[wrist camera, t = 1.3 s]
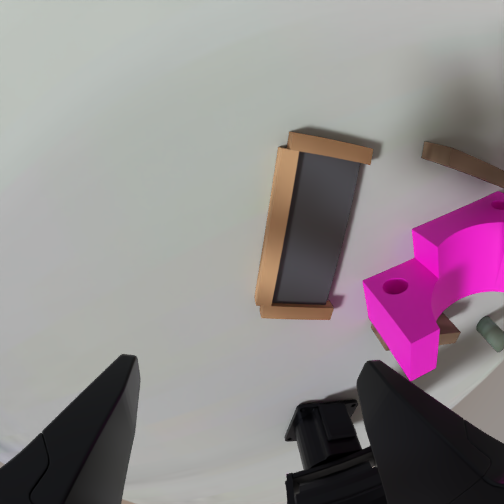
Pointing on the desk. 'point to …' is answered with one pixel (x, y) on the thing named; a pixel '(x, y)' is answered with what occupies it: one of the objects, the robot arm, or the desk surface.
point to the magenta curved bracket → (437, 280)
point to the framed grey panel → (331, 227)
